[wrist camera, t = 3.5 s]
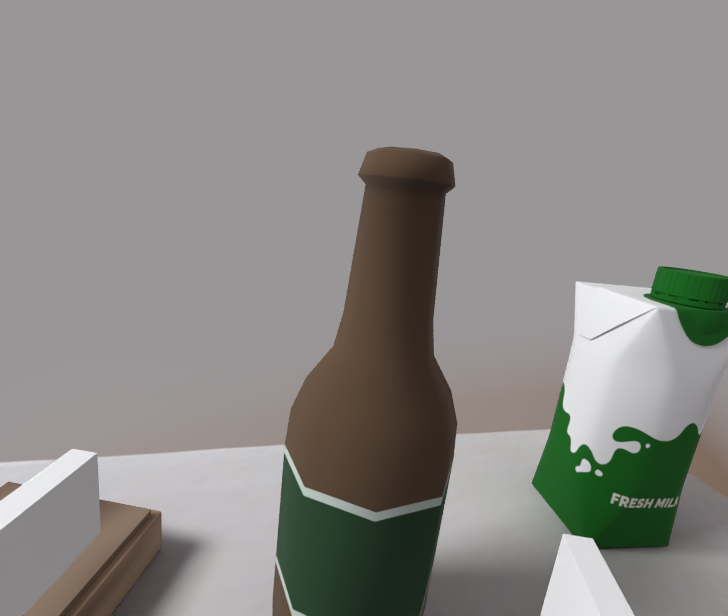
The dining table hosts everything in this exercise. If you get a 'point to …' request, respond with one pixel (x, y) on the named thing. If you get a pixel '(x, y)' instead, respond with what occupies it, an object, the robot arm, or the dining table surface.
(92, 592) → the plinth
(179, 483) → the dining table surface
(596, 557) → the robot arm
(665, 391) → the milk carton
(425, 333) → the beer bottle
